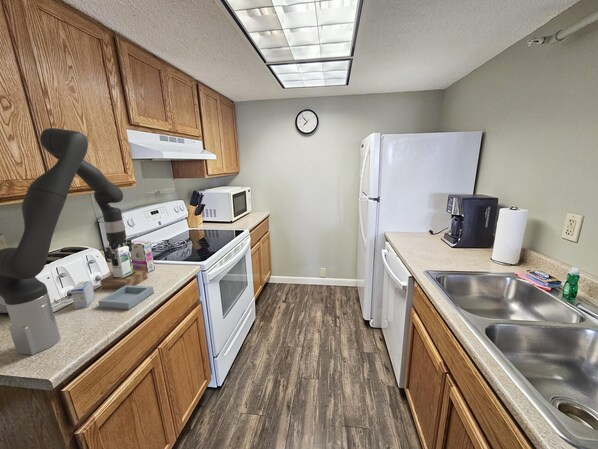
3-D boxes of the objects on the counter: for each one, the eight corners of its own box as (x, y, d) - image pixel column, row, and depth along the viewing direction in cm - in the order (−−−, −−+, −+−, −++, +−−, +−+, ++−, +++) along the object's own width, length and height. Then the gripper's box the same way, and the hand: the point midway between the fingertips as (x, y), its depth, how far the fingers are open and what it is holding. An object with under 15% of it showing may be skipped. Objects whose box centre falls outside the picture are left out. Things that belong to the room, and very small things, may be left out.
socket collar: (126, 290, 118) (125, 281, 117) (102, 289, 120) (100, 280, 119) (147, 278, 131) (146, 270, 130) (124, 276, 133) (123, 268, 132)
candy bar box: (155, 269, 142) (151, 241, 138) (147, 273, 137) (143, 244, 133) (140, 267, 145) (136, 240, 142) (132, 270, 141) (127, 242, 137)
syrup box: (123, 277, 121) (118, 249, 118) (113, 277, 122) (107, 248, 119) (133, 273, 126) (128, 245, 123) (123, 272, 127) (118, 244, 124)
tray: (129, 309, 102) (128, 303, 101) (99, 307, 104) (98, 301, 104) (153, 292, 116) (152, 286, 115) (126, 291, 118) (125, 285, 117)
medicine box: (83, 300, 110) (78, 282, 108) (95, 298, 112) (91, 280, 110) (75, 309, 103) (70, 290, 101) (88, 307, 105) (83, 288, 103)
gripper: (108, 234, 112) (115, 269, 115) (134, 226, 125) (139, 258, 129) (94, 233, 113) (101, 269, 117) (120, 226, 127) (126, 258, 130)
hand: (121, 263), depth 123 cm, fingers closed on syrup box, 5 cm apart
